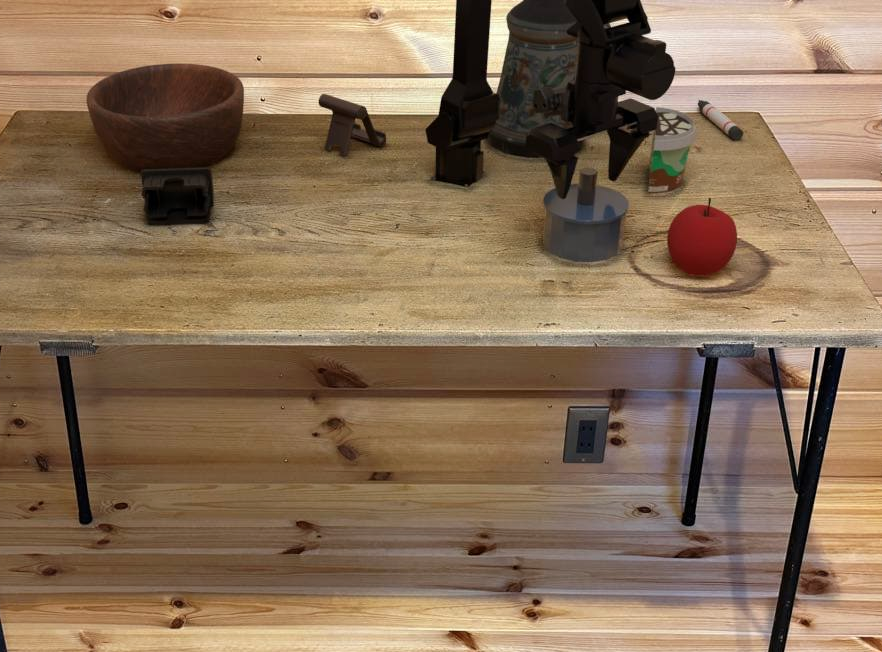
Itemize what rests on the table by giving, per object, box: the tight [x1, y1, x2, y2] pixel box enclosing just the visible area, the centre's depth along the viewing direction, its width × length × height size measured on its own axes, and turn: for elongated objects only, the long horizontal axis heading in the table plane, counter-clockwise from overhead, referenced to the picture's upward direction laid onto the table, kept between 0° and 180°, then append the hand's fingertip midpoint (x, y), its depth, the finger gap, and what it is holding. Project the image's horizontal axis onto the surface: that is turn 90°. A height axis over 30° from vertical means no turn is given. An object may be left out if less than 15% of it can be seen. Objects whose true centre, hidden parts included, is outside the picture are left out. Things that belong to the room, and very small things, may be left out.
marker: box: [697, 99, 744, 141], centre depth 200 cm, size 15×2×2 cm, turn 12°
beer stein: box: [487, 0, 612, 159], centre depth 189 cm, size 16×19×25 cm
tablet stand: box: [318, 93, 387, 157], centre depth 193 cm, size 9×8×8 cm
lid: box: [542, 167, 630, 224], centre depth 161 cm, size 12×12×6 cm
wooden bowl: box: [85, 63, 245, 172], centre depth 192 cm, size 25×25×10 cm
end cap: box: [140, 166, 215, 226], centre depth 174 cm, size 10×7×7 cm
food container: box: [647, 106, 697, 194], centre depth 179 cm, size 12×6×10 cm, turn 168°
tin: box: [542, 209, 627, 263], centre depth 164 cm, size 11×11×6 cm
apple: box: [666, 197, 738, 277], centre depth 157 cm, size 9×9×10 cm
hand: (587, 189), depth 160 cm, fingers open, 9 cm apart
